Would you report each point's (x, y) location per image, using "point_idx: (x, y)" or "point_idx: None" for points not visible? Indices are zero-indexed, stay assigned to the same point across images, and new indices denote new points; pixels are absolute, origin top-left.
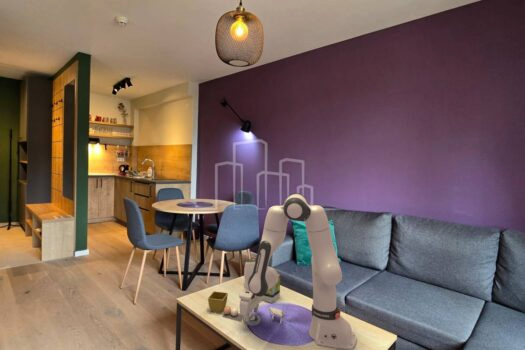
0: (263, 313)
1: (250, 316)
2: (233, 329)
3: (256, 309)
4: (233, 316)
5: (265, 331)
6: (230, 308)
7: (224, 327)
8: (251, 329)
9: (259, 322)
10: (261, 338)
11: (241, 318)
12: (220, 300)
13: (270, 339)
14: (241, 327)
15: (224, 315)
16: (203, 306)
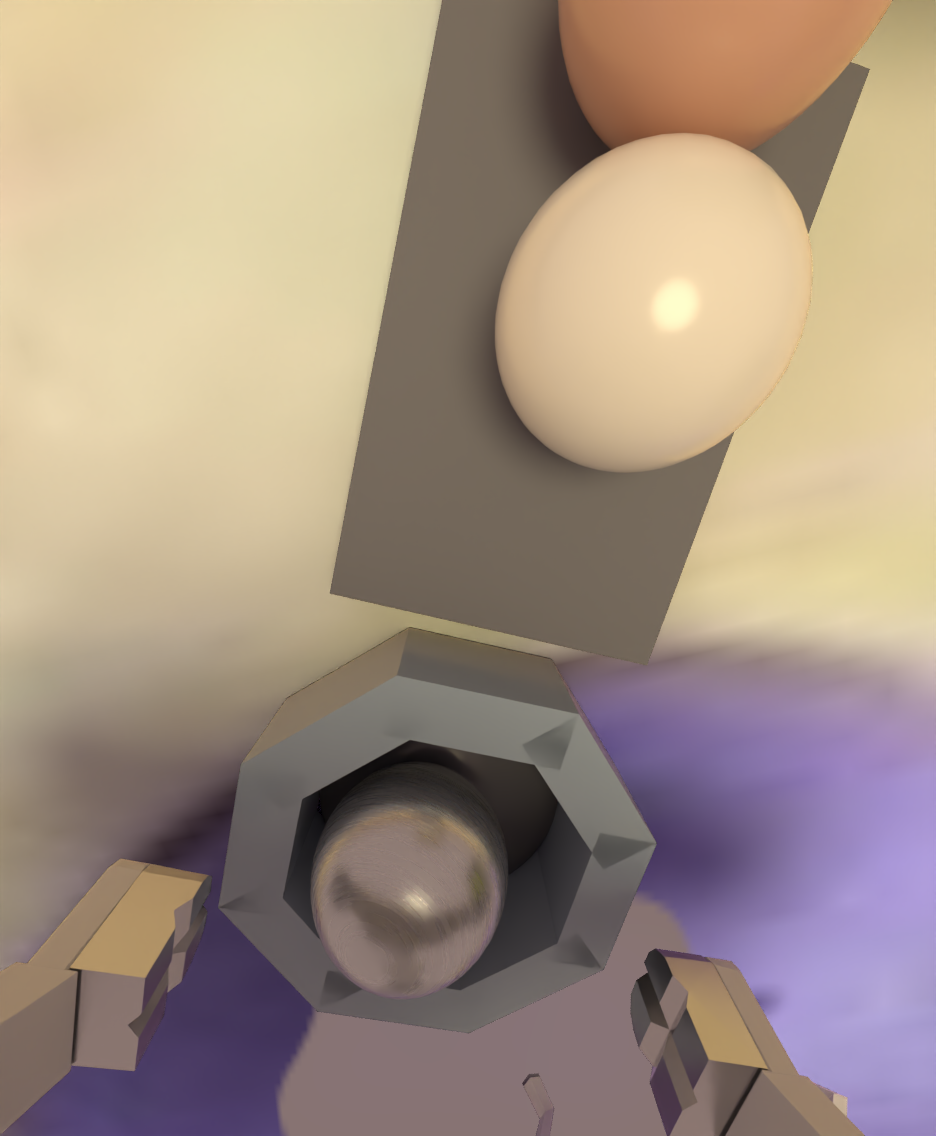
0: (798, 909)
1: (346, 942)
2: (67, 496)
3: (673, 1118)
4: None
5: (235, 1029)
6: (791, 40)
7: (53, 235)
8: (211, 832)
9: None
10: None
11: (481, 588)
12: None
13: (57, 1115)
14: (209, 644)
15: (551, 3)
16: None
